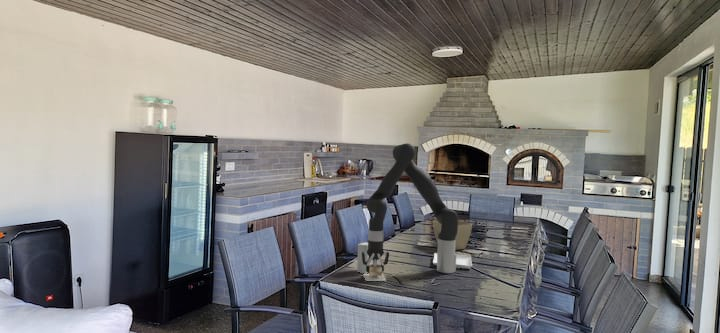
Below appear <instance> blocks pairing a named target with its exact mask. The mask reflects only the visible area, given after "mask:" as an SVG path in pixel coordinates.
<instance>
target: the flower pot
mask: <svg viewBox="0 0 720 333" xmlns="http://www.w3.org/2000/svg"><path fill="white" fill-rule="evenodd" d="M441 225H442V224H440V223H439V222H438V220H432V227H433V232H434V237H435V240H436V243H437V245H438V234H439V233H440V232H441ZM472 229H473V223H471V222H470V223H469V222H466V221H462V220H459V219H458V231H457V235H456V242H455V251H457V250H459V251H460V250H465V249H466V247H467V245H468V242H469V239H470V238H471V237H470V236H471V233H472Z"/></svg>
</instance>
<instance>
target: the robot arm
mask: <svg viewBox="0 0 720 333" xmlns="http://www.w3.org/2000/svg"><path fill="white" fill-rule="evenodd" d="M415 156H416V148H415V146H414V145H413V144H411V143H402V144H398V145H396V146H394V147H393V149H392V157H393V159H394V161H395V163H394V164H393V166H392V167H391V169H390V170H389V171H388V172H387V173H386V174H385V176H384V177H383V178H382V180H381V182H380V183H379V186H378V187H377V189H376V190H375V191H374V192H373V194H372V195H371V196H370V197H369V198H368V200H367V202H366V209H367V211H368V212H370V213H374V215H373V217H370V218H369V222H368V235H367V242H368V250H367V252H363V251H362V252H361V254H362V262H363V264H364V265H366V271H367V273H368V274H369V264H370V262H371V261H372V260H375V259H376V260H377V261H379V262H380V263H379V264H380V265H381V267H382V273H383V272H384V271H385V265H388V264H389V263H388V262H389V258H390V252H389V251H384V238H385V237H384V222H385V218H386V214H387V210H388V206H387V202H386V201H385V200H384V199H387V198H389V197H390V196H391V195H392V192H394V189H395V187H396V185H397V183H398V181H399V180H400V178H401V177H402V175H403V173H405V174H406V175H407V176H408V178H409V179H410V181H411V183H412V184H413V185H414V187H415V189H416V190H417V192H418V193H419V195H421V197H422V199H423V200H424V201H425V202H426V204H427V205H428V206H429V207H430V210H431V211H432V213H433V215H434V217H435V218H436V221H438V222H439V223H440V224H442V225H441V232H440V233H439V234H438V244H437V250H436V251H437V252H436V253H437V266H436V271H437V272H439V273H443V274H453V273H456V270H457V268H456V255H457V254H456V250H455V242H456V235H457V231H458V220H459V215H458V213H457V212H456V211H455V210H452V209H450V208H448V206H447V205H446V204H445V203H444V202H443V200H442V197H440V193H439V190H438V188H437V186H436V184H435V182H434V181H433V179H432V178H431V177H430V175H429V174H428V173H427V172H425V170H423V169H422V168H420V167H419V166H418V165H417V164H416V163H415V162H414V160H413V159H414V158H415ZM366 254H368V256H369V258H368V260H367V262H365V256H366ZM383 255H384V256H385V257H384V261H383V258H382V257H383Z"/></svg>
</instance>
